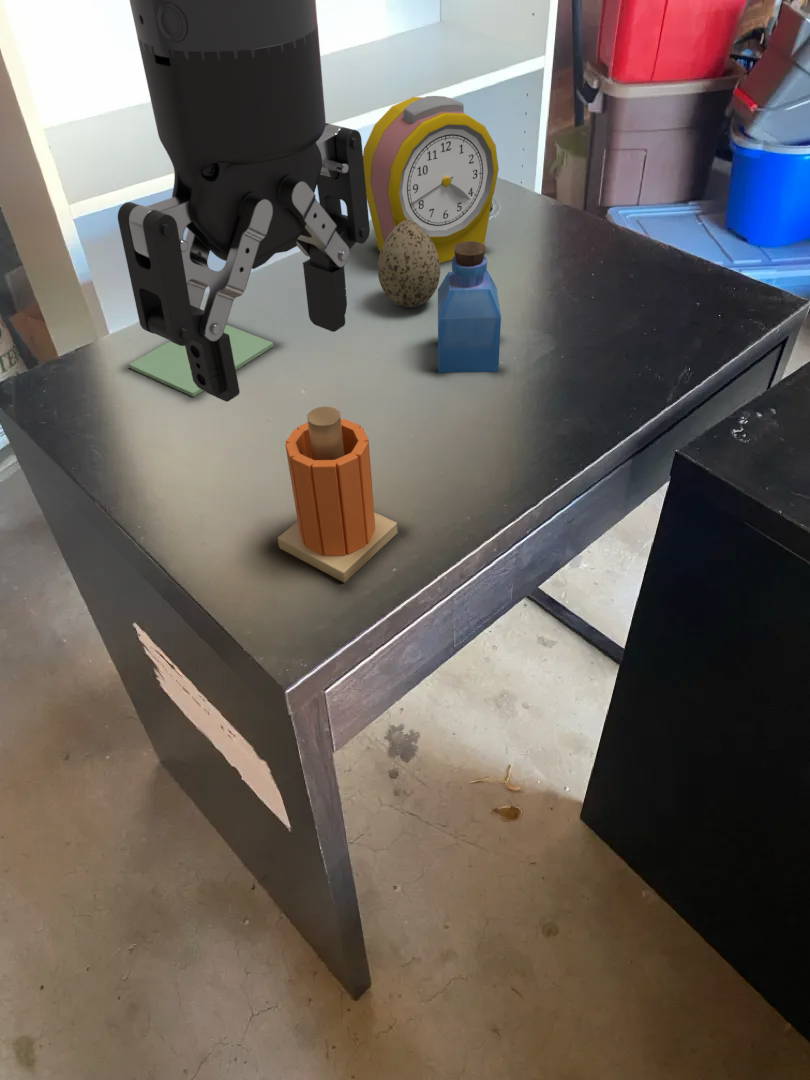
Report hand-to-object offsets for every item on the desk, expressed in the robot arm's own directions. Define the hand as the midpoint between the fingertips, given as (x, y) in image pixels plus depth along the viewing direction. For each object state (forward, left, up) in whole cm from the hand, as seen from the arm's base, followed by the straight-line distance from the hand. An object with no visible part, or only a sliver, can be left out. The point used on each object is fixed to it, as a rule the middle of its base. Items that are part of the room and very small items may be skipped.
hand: (277, 358), depth 46 cm
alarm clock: (+57, +30, -23) cm, 68 cm away
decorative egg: (+44, +24, -23) cm, 55 cm away
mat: (+22, +36, -23) cm, 48 cm away
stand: (+8, +5, -23) cm, 25 cm away
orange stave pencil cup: (+8, +5, -22) cm, 24 cm away
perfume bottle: (+38, +12, -23) cm, 46 cm away
